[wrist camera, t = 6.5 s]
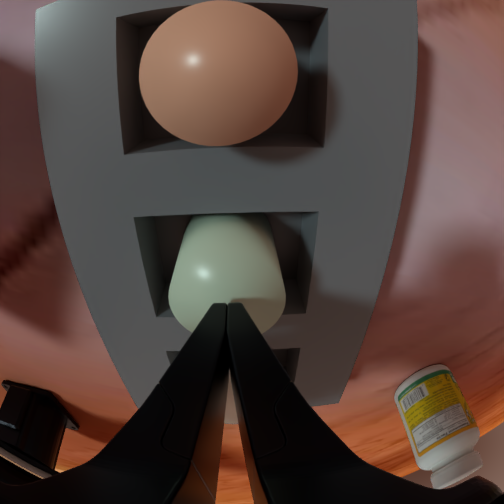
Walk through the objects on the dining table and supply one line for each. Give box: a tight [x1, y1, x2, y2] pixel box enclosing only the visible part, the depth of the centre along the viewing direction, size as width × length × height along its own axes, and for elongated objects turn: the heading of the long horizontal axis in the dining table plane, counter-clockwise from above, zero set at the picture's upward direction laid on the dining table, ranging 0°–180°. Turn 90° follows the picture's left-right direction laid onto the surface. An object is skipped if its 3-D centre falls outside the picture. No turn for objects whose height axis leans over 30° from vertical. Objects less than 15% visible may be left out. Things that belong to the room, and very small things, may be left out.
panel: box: [35, 0, 418, 408], centre depth 12 cm, size 20×12×3 cm, turn 0°
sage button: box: [168, 212, 286, 334], centre depth 11 cm, size 4×4×4 cm
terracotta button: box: [139, 0, 298, 146], centre depth 8 cm, size 4×4×4 cm
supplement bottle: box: [394, 364, 483, 489], centre depth 17 cm, size 5×5×10 cm
